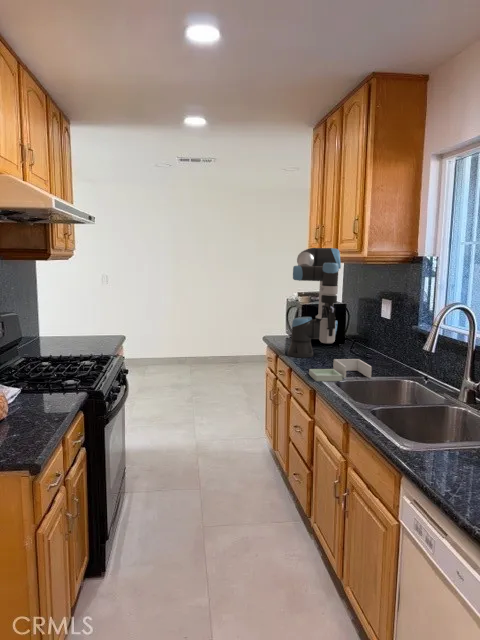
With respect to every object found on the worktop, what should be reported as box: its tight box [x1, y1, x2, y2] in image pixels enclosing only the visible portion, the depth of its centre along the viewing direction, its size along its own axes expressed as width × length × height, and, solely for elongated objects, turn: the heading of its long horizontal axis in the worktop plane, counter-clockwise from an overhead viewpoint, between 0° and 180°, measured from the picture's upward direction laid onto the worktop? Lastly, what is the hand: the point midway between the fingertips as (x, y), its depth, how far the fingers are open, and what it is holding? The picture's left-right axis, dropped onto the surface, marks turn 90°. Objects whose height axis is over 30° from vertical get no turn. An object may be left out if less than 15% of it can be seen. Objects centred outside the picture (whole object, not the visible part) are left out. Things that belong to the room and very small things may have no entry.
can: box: [318, 318, 336, 344], centre depth 233 cm, size 8×8×12 cm
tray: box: [308, 368, 343, 382], centre depth 236 cm, size 13×13×3 cm
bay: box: [332, 358, 373, 379], centre depth 244 cm, size 17×14×6 cm
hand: (327, 340), depth 233 cm, fingers closed on can, 7 cm apart
